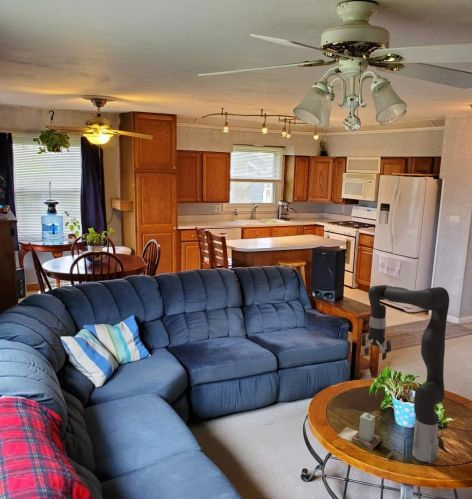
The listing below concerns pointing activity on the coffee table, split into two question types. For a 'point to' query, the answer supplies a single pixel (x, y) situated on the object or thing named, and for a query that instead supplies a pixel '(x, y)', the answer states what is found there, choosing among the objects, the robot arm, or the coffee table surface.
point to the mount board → (354, 437)
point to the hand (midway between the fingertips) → (375, 357)
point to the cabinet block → (366, 427)
